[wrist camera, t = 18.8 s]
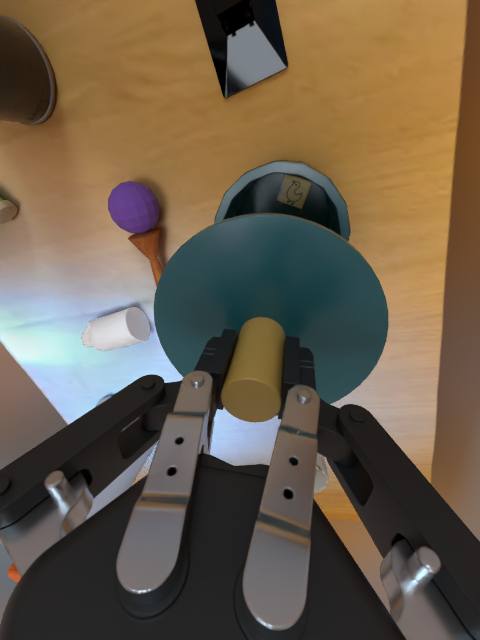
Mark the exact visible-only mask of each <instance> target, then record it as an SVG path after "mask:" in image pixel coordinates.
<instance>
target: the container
mask: <svg viewBox="0 0 480 640" xmlns="http://www.w3.org/2000/svg"><path fill="white" fill-rule="evenodd" d="M284 174H295V175H298V176H301V177H304V178H307V179H308V180H310V181H312V184H311V186H310V189H309V192H308V194H307V197H306V200H305V202H304V205H303V207H302V209H300V208H297V207H294V206H291V205H288V204H285V203H282V202H280V201H277V200H276V198H277V195H278V192H279V189H280V186H281V183H282V180H283V177H284ZM255 213H278V214H284V215H291V216H297V217H300V218H303V219H306V220H309V221H313V222H315V223H317V224H320V225H322V226H324V227H326V228H328V229H330V230H332V231H333V232H335V233H336V234H338V235H339V236H341V237H342V238H344V239H345V240H347V241H348V240H349V236H350V233H351V232H350V224H349V218H348V211H347V205H346V202H345V200H344V199H343V197H342V196H341V194H340V193H339V192H338V190H337V189H336V187H335V186H334V184H333V183H332V181H331V180H330V179H329V178H328V177H327V176H325V175H324V174H322V173H321V172H319V171H317V170H316V169H314V168H312V167H310V166H309V165H307V164H305V163H303V162H301V161H286V160H279V161H274V162H270V163H268V164H265V165H263V166H260V167H258V168H255V169H253V170H250V171H248V172H246V173H244V174H243V175H242V176H241V177H240V178H239V179H238V180H237V181H236V182H235V183H234V184H233V185H232V186H231V187H230V188H229V189H228V190H227V191H226V192H225V194H224V197H223V199H222V201H221V204H220V206H219V209H218V211H217V214H216V216H215V220H214V224H215V223H218V222H220V221H222V220H225V219H229V218H232V217H236V216H240V215H247V214H255Z"/></svg>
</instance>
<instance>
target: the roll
mask: <svg viewBox="0 0 480 640" xmlns="http://www.w3.org/2000/svg"><path fill="white" fill-rule="evenodd" d="M149 335H150V324H149V321H148V318H147V316H146V315H145V314H144V313H143V311H142V310H140V309H139V308H137V307H131V308H128V309H125V310H123V311H120V312H116V313H113V314H110V315H107V316H104V317H100V318H97V319H94V320H92V321H89V322H88V324H87V327H86V329H85V331H84V332H83V333H82V343H83V345H85V346H87V347H95V348H96V349H97V350H101V351H109V350H113V349H117V348H122V347H127V346H130V345H133V344H136V343H140V342H143V341H146V340H147V339H148V338H149Z"/></svg>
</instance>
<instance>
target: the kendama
mask: <svg viewBox="0 0 480 640" xmlns="http://www.w3.org/2000/svg"><path fill="white" fill-rule="evenodd" d="M108 210H109V212H110V215H111V217H112V219H113V221H114V222H115V223H116V224H117V225H118V226H119V227H120V228H122V229H124V230H126V231H128V232H130V233H136V234H134V235H132V236H130V237H129V238H128V239H129V240H130V241H131V242H132V243H133V244H134V245H135V246H136V247H137V248H138V249H139V250H140V251H141V252H142V253H143V254H144V255H145V256H146V257H147V258H148V259H149V260H150V263H151V267H152V271H153V275H154V279H155V283H156V286H157V285H158V281H159V279H160V277H161V274H162V272H163V268H162V266H161V264H160V262H159V260H158V258H157V257H158V246H159V234H160V230H159V229H152V228H153V227H154V226H155V225H156V223H157V221H158V219H159V204H158V201H157V198H156V197H155V195H154V194H153V193H152V191H151V190H150V189H149V188H147V187H146V186H144V185H142V184H141V183H136V182H131V181H128V182H124V183H120V184H119V185H118V186H117V187H115V188H114V189H113V190H112V192H111V194H110V196H109V199H108ZM150 229H151V230H150Z"/></svg>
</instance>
